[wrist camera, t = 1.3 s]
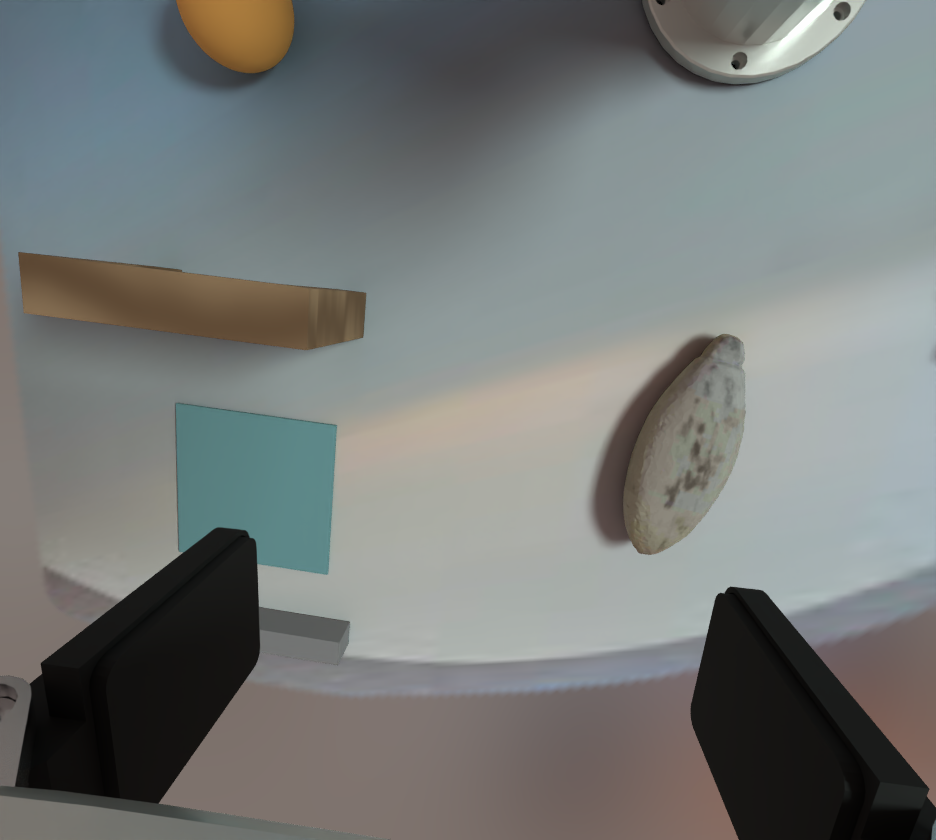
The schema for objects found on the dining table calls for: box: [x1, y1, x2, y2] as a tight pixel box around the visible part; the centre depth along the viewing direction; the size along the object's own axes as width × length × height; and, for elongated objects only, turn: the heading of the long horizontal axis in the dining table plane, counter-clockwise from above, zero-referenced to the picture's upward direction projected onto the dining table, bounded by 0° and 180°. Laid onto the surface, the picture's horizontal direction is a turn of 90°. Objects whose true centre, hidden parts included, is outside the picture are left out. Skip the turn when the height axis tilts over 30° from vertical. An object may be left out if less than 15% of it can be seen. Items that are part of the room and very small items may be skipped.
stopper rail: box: [259, 607, 350, 665], centre depth 39 cm, size 2×16×2 cm, turn 83°
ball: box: [176, 0, 294, 73], centre depth 27 cm, size 6×6×6 cm
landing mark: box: [176, 403, 337, 575], centre depth 37 cm, size 12×12×1 cm
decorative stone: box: [623, 334, 746, 555], centre depth 32 cm, size 6×16×3 cm, turn 165°
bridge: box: [18, 252, 366, 350], centre depth 29 cm, size 3×15×10 cm, turn 83°
